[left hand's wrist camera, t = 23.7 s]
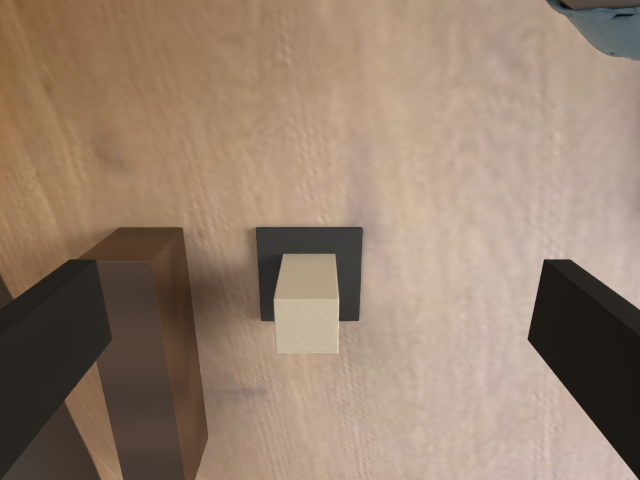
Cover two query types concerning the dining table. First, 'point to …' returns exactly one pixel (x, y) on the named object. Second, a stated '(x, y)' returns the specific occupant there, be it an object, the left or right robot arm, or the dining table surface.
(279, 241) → the mat
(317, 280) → the beige block
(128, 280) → the walnut box
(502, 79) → the dining table surface
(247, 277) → the dining table surface
